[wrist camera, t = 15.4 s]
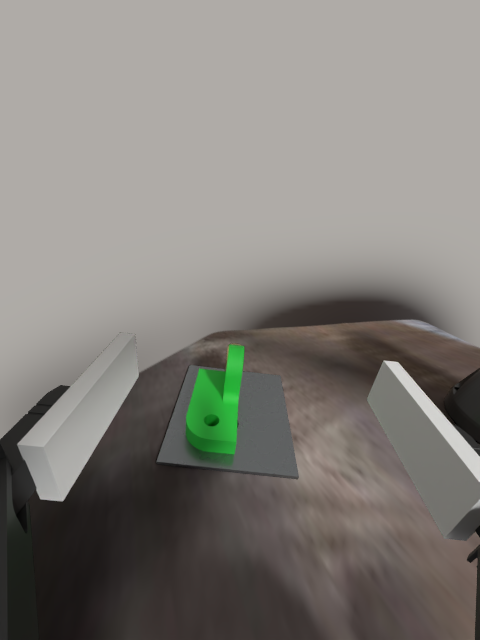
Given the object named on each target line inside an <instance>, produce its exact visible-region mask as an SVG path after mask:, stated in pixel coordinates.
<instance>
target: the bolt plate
mask: <svg viewBox="0 0 480 640" xmlns="http://www.w3.org/2000/svg"><path fill="white" fill-rule="evenodd" d="M232 345H240V344H237V343H232ZM240 346H242V345H240ZM228 352H229V345H228V348H227V356H226V364H225V369H219V368H211V367H202V366H194V365H190V366H189V369H188V372H187V374H186V377H185V380H184V383H183V386H182V389H181V392H180V395H179V398H178V401H177V403H176V406H175V409H174V412H173V415H172V418H171V421H170V424H169V427H168V430H167V432H166V435H165V438H164V441H163V444H162V447H161V450H160V453H159V456H158V459H157V461H156V464H160V465H169V466H179V467H188V468H198V469H207V470H216V471H226V472H235V473H245V474H254V475H263V476H273V477H282V478H292V479H298V478H299V475H298V470H297V464H296V459H295V453H294V448H293V442H292V437H291V431H290V426H289V420H288V415H287V409H286V404H285V398H284V393H283V387H282V382H281V376H279V375H270V374H262V373H253V372H245V371H242V378H241V385H240V392H239V400H238V418H237V440H236V448H235V454H225V453H215V452H206V451H202V450H199V449H197V448H195V447H194V446H192V445H191V444H190V442H189V441H188V439H187V437H186V415H187V412H188V408H189V404H190V401H191V397H192V394H193V390H194V386H195V383H196V379H197V376H198V372H199V369H208V370H217V371H226V368H227V360H228Z"/></svg>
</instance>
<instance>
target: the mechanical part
mask: <svg viewBox="0 0 480 640" xmlns="http://www.w3.org/2000/svg"><path fill="white" fill-rule="evenodd" d="M243 361H244V346H240V345H232V344H229V352H228V360H227V368H226V371H217V370H208V369H199V372H198V376H197V379H196V383H195V386H194V390H193V394H192V397H191V401H190V404H189V408H188V412H187V415H186V437H187V439H188V441H189V442H190V444H191V445H192V446H194V447H195V448H197V449H199V450H202V451H206V452H215V453H225V454H235V448H236V440H237V418H238V400H239V392H240V385H241V378H242V371H243Z"/></svg>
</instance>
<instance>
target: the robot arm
mask: <svg viewBox="0 0 480 640" xmlns="http://www.w3.org/2000/svg"><path fill="white" fill-rule="evenodd" d="M138 377H139V371H138V361H137V351H136V339H135V334H130V333H120V334H118V336H117V337H116V338H115V339H114V340H113V341H112V342H111V344H109V345H108V346H107V347H106V349H105V350H104V351H103V352H102V353H101V354H100V355H99V356H98V357H97V358H96V359H95V361H94V362H93V363H92V364H91V365H90V366H89V367H88V368H87V369H86V370H85V372H83V374H82V375H81V376H80V377H79V378H78V379H77V380H76V381H75V382H74V383H73V384H72V385H71V386H63V385H60V386H59V387H57V388H55V389H53V390H52V391H50V392H48V393H47V394H46V395H45V396H44V397H43V398H42V399H41V400H40V401H39V402H38V403H37V405H36V406H34V407H33V408H32V409H31V410H30V411H29V412H28V414H26V415H25V416H24V417H23V418H22V419H21V420H20V421H19V422H18V423H17V424H16V425H15V426H14V427H13V428H12V429H11V430H10V431H9V432H8V433H6V435H4V436H3V438H1V439H0V640H39V632H38V618H37V604H36V590H35V576H34V562H33V548H32V534H31V520H30V506H29V503H28V500H29V498H30V497H31V495H32V494H33V493H34V491H35V490H37V493H38V495H39V497H40V499H43V500H53V501H64V499H65V497H66V496H67V494H68V492H69V491H70V489H71V487H72V486H73V484H74V482H75V481H76V479H77V478H78V476H79V474H80V473H81V471H82V469H83V468H84V466H85V464H86V463H87V461H88V459H89V458H90V456H91V454H92V453H93V451H94V449H95V448H96V446H97V444H98V443H99V441H100V439H101V438H102V436H103V435H104V433H105V431H106V430H107V428H108V426H109V425H110V423H111V421H112V420H113V418H114V416H115V415H116V413H117V411H118V410H119V408H120V406H121V405H122V403H123V401H124V400H125V398H126V396H127V395H128V393H129V392H130V390H131V388H132V387H133V385H134V383H135V382H136V380H137V378H138ZM367 401H368V403H369V405H370V406H371V408H372V410H373V412H374V414H375V415H376V417H377V419H378V421H379V423H380V424H381V426H382V428H383V430H384V431H385V433H386V435H387V437H388V439H389V440H390V442H391V444H392V446H393V448H394V449H395V451H396V453H397V455H398V457H399V458H400V460H401V462H402V464H403V465H404V467H405V469H406V471H407V473H408V474H409V476H410V478H411V480H412V482H413V483H414V485H415V487H416V489H417V491H418V492H419V494H420V496H421V498H422V499H423V501H424V503H425V505H426V507H427V508H428V510H429V512H430V514H431V516H432V517H433V519H434V521H435V523H436V524H437V526H438V528H439V530H440V532H441V533H442V535H443V537H444V539H454V540H464V541H466V540H467V539H468V538H469V537H470V536H471V535H472V534H473V533H474V532H475V531H476V532H477V534H478V535H479V537H480V446H479V445H478V443H477V442H476V441H478V442H479V443H480V368H479V369H477V370H476V371H474V372H473V373H472V374H470V375H469V376H467V377H466V378H465V379H463V380H462V381H461V382H459V383H458V384H456V385H455V386H453V387H452V388H451V390H450V391H449V393H448V394H447V396H446V398H445V400H444V404H445V408H446V410H447V412H448V413H449V415H450V416H451V418H452V419H453V420H454V421H455V422H456V423H457V424H458V426H460V427H461V428H462V429H463V430H462V429H461V428H460V427H458V426H457V425H452V424H451V423H450V422H449V421H448V419H447V418H446V417H445V416H444V415H443V414H442V412H441V411H440V410H439V409H438V408H437V407H436V406H435V404H434V403H433V402H432V401H431V400H430V399H429V397H428V396H427V395H426V394H425V393H424V392H423V391H422V389H421V388H420V387H419V386H418V385H417V384H416V382H415V381H414V380H413V379H412V378H411V377H410V376H409V374H408V373H407V372H406V371H405V370H404V369H403V367H402V366H401V365H400V364H399V363H398V362H393V361H384V360H383V363H382V365H381V367H380V370H379V372H378V374H377V377H376V379H375V381H374V384H373V386H372V388H371V391H370V393H369V395H368V398H367ZM473 438H474V439H475V440H476V441H475V440H474V439H473ZM476 558H478V565H477V594H476V622H475V640H480V545H479V546H478V547H477V548H476V549H475V550H474V551H472V552H471V553H470V554H469V556H468V558H467V561H469V562H470V563H471V562H472V561H473V560H474V559H476Z"/></svg>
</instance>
